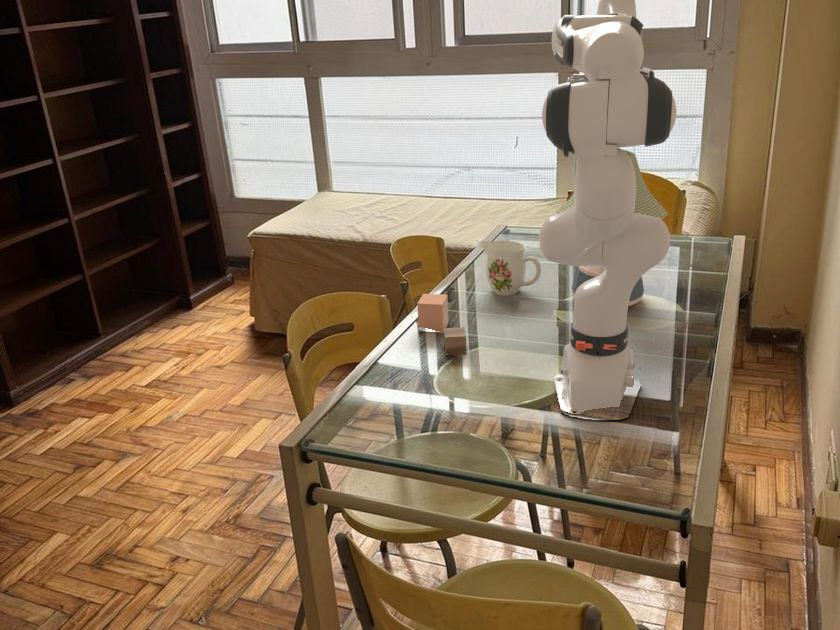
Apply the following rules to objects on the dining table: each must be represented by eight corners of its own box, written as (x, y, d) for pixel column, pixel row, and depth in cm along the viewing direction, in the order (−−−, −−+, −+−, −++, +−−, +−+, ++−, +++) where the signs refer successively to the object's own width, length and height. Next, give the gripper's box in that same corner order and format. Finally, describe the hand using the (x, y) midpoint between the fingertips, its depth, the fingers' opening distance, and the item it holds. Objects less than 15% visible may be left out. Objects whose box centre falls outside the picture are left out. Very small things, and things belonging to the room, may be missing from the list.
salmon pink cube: (443, 333, 204) (442, 304, 200) (419, 332, 205) (417, 303, 202) (448, 322, 209) (447, 294, 206) (424, 321, 211) (423, 293, 207)
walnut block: (466, 354, 192) (465, 336, 190) (445, 356, 192) (444, 337, 190) (464, 345, 197) (464, 327, 195) (444, 346, 197) (443, 328, 195)
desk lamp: (664, 322, 203) (678, 160, 186) (551, 318, 209) (554, 160, 192) (658, 283, 226) (669, 136, 209) (556, 281, 232) (559, 137, 215)
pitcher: (534, 302, 218) (535, 255, 213) (472, 295, 225) (471, 249, 220) (545, 287, 228) (546, 241, 222) (485, 281, 234) (484, 236, 229)
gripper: (564, 76, 177) (563, 138, 183) (661, 74, 173) (656, 138, 178) (566, 72, 183) (565, 132, 189) (660, 70, 178) (655, 132, 184)
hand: (610, 135), depth 184 cm, fingers open, 8 cm apart
